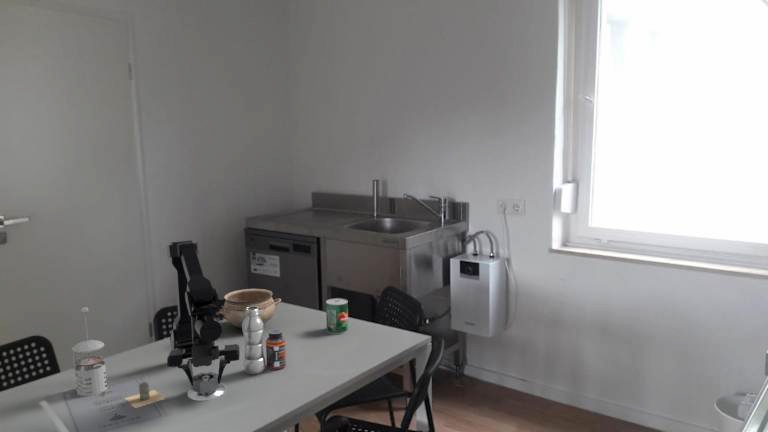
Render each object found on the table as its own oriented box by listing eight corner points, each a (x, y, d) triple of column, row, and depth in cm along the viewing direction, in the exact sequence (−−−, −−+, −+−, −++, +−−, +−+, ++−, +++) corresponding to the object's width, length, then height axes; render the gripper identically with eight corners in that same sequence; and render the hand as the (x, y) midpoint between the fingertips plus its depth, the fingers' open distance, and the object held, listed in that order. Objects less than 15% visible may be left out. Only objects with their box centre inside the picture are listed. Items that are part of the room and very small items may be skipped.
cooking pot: (224, 341, 207) (222, 307, 205) (209, 326, 223) (207, 294, 221) (291, 327, 220) (290, 295, 218) (272, 314, 236) (271, 284, 234)
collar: (194, 383, 166) (194, 373, 166) (219, 381, 168) (218, 371, 167) (192, 394, 160) (192, 383, 160) (218, 391, 161) (217, 381, 161)
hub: (181, 395, 165) (180, 375, 164) (215, 384, 171) (214, 365, 170) (197, 407, 157) (196, 386, 156) (231, 395, 164) (230, 376, 163)
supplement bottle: (282, 371, 180) (280, 335, 179) (263, 369, 182) (262, 334, 180) (289, 363, 186) (287, 328, 184) (271, 362, 187) (269, 327, 186)
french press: (85, 404, 160) (77, 315, 157) (61, 394, 166) (53, 308, 163) (118, 390, 168) (111, 305, 165) (94, 381, 175) (87, 299, 171)
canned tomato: (347, 334, 212) (346, 304, 210) (325, 334, 212) (324, 304, 210) (349, 326, 220) (348, 298, 218) (327, 326, 220) (327, 298, 218)
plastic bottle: (247, 378, 176) (244, 313, 173) (241, 370, 181) (238, 307, 178) (268, 373, 178) (265, 309, 175) (262, 366, 184) (259, 303, 181)
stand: (124, 401, 161) (123, 382, 160) (154, 392, 166) (152, 373, 166) (135, 411, 155) (133, 391, 154) (165, 402, 161) (164, 382, 160)
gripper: (162, 343, 152) (166, 401, 154) (237, 337, 156) (240, 393, 158) (168, 329, 163) (172, 383, 165) (238, 324, 167) (240, 376, 169)
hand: (206, 384), depth 164 cm, fingers closed on collar, 7 cm apart
